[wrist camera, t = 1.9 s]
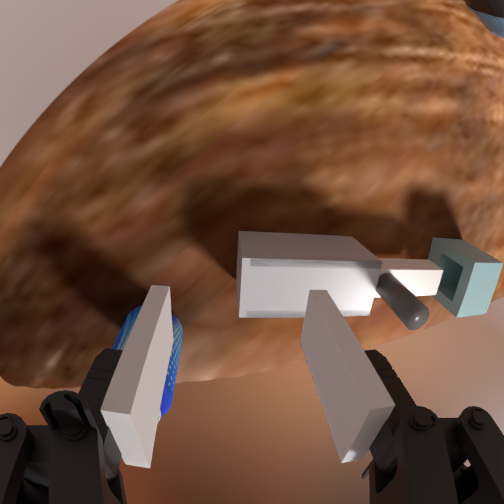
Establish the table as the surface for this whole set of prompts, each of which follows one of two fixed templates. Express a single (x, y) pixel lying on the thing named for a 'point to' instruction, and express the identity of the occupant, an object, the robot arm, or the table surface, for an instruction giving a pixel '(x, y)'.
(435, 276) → the sliding bolt with handle
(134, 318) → the beer can
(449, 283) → the socket block
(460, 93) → the table surface
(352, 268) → the white rectangular box
